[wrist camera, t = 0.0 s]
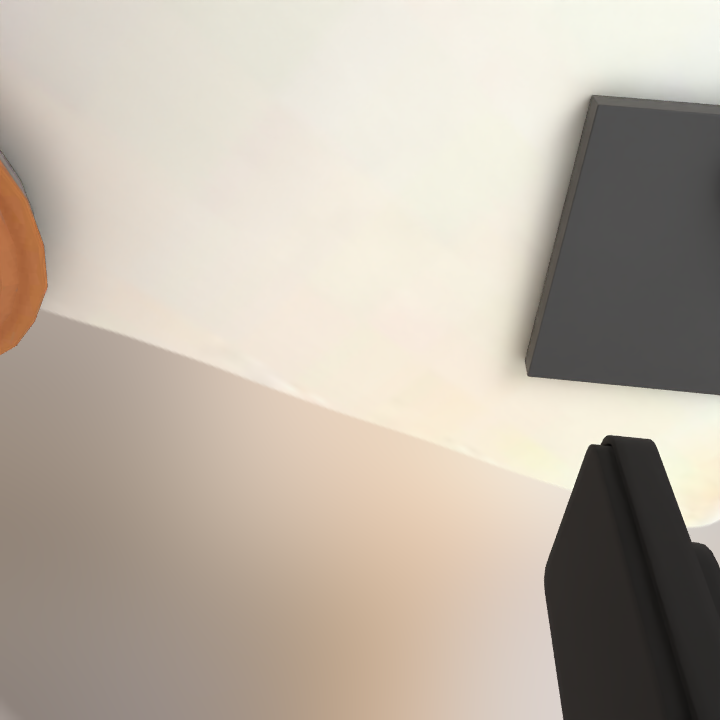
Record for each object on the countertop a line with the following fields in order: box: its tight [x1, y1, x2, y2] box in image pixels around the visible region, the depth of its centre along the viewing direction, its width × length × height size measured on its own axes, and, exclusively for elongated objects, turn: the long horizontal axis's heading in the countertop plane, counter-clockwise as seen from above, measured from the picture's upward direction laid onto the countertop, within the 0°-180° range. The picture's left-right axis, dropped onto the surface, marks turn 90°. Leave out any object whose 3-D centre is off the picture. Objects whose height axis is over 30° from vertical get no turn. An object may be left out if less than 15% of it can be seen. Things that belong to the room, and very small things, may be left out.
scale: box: [525, 95, 720, 395], centre depth 31 cm, size 14×12×3 cm
